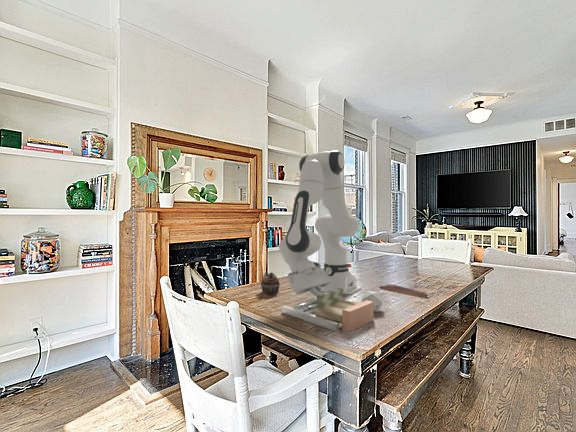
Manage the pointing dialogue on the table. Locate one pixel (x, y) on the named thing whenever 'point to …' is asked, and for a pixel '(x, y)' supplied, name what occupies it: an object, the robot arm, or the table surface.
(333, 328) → the roller track
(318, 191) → the robot arm
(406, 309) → the table surface
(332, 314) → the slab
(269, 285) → the cupcake
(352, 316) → the block
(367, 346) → the table surface
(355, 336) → the table surface
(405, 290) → the wooden tablet
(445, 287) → the table surface
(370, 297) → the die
